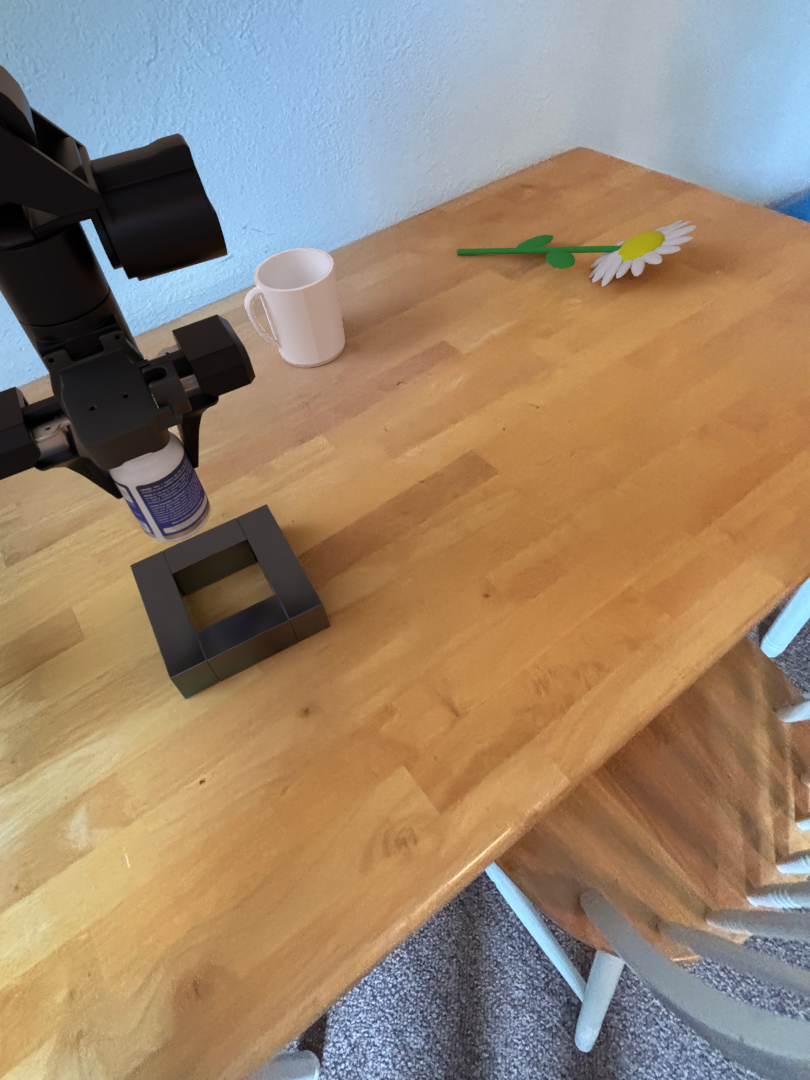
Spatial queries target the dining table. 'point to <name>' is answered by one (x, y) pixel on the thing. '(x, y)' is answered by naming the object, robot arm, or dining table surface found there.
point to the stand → (243, 634)
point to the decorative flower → (605, 251)
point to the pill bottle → (164, 493)
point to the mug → (299, 306)
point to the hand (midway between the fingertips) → (157, 480)
